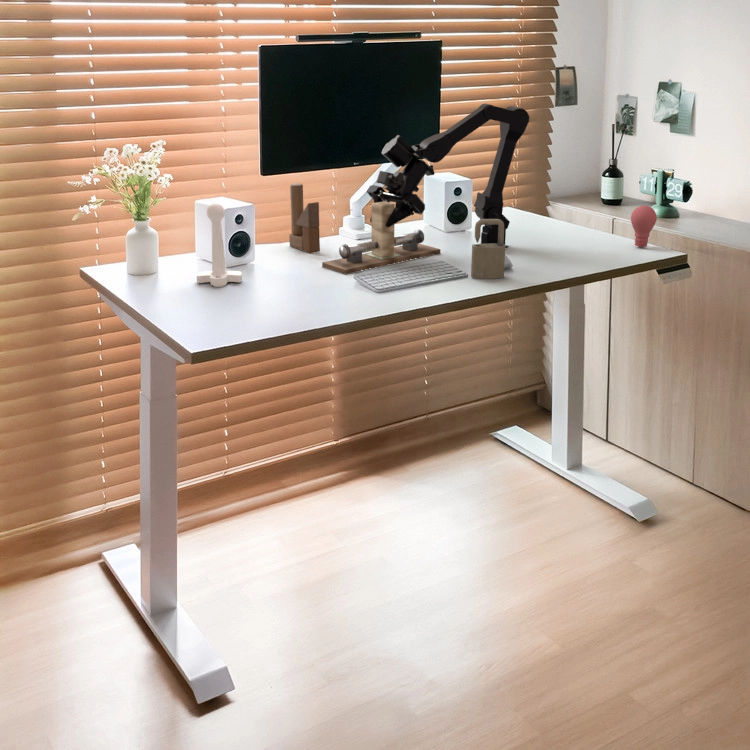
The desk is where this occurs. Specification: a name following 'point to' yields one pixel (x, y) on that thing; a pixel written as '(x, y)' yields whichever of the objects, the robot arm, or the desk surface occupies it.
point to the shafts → (355, 251)
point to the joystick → (218, 253)
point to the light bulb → (643, 224)
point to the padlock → (488, 253)
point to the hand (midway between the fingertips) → (378, 224)
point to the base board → (379, 259)
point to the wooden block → (303, 222)
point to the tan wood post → (382, 229)
